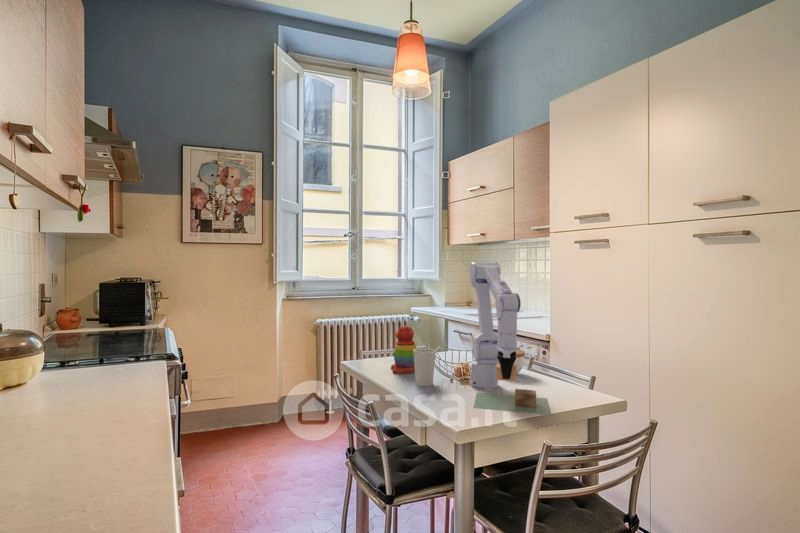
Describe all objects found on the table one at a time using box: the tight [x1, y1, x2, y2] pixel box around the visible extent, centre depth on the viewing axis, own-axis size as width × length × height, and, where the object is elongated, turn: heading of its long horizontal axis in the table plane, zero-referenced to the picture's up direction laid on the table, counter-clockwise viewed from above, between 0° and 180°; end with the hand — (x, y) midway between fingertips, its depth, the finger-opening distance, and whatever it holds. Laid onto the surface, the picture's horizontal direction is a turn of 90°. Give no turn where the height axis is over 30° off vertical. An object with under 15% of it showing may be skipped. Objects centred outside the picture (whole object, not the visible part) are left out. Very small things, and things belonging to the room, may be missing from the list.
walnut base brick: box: [514, 388, 537, 408], centre depth 137 cm, size 6×4×4 cm
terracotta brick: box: [496, 364, 517, 382], centre depth 140 cm, size 6×4×4 cm
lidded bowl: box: [498, 349, 526, 376], centre depth 178 cm, size 13×13×11 cm
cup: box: [414, 347, 437, 387], centre depth 161 cm, size 8×8×12 cm
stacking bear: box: [390, 325, 418, 375], centre depth 180 cm, size 11×10×18 cm
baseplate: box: [473, 392, 553, 416], centre depth 139 cm, size 22×16×1 cm
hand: (506, 376), depth 140 cm, fingers closed on terracotta brick, 4 cm apart
